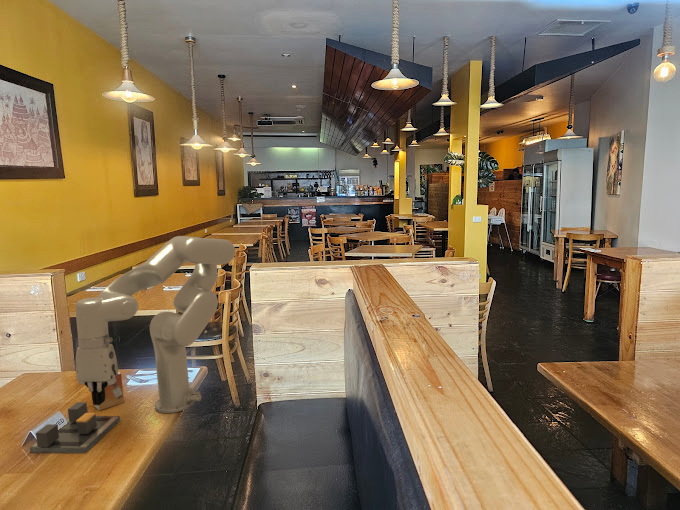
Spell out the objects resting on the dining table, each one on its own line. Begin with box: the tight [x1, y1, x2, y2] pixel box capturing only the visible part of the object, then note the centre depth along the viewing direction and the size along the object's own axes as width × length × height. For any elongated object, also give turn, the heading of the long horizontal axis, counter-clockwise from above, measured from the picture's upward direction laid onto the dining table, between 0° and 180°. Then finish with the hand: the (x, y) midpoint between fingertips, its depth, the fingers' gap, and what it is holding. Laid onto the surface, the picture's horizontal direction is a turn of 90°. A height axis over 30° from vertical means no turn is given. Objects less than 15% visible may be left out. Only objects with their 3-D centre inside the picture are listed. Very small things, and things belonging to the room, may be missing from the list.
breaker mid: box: [76, 412, 97, 434], centre depth 128 cm, size 3×4×4 cm
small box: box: [93, 371, 125, 412], centre depth 147 cm, size 8×6×10 cm
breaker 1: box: [35, 423, 59, 447], centre depth 122 cm, size 3×4×4 cm
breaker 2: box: [67, 401, 89, 422], centre depth 135 cm, size 3×4×4 cm
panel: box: [29, 415, 121, 454], centre depth 129 cm, size 16×17×2 cm
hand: (99, 403), depth 126 cm, fingers closed
